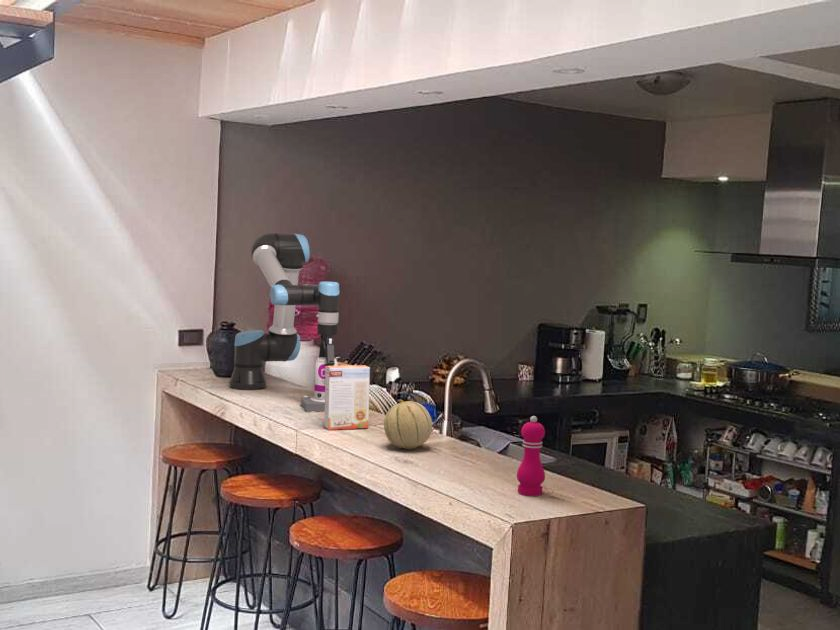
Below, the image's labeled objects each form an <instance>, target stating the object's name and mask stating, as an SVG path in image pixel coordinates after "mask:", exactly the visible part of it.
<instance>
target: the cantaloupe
mask: <svg viewBox="0 0 840 630" xmlns="http://www.w3.org/2000/svg"><path fill="white" fill-rule="evenodd" d="M397 402H398V403H396V404H394V405H393V406H391V407H390V408H389V409H388V410H387V412H386V414H385V416H384V420H383V421H384V422H383V430H384V433H385V436H386V438H387V440H388V441H389V442H390V443H391V444H392V445H393V446H395V447H396V448H400V449H403V448H405V449H404V450H414V449H416V448H418V447H419V446H422V445H424V444H425V443H426V442H427V441H428V440H429V439H430V438H431V437H430V436H431V435H432V432H433V420H432V416H431V415H430V413H429V411H428V410H427V408H426V407H425V406H424V405H422V404H421V403H418V402H416V401H412V400H407V401H404V400H403V399H401V398H400V399H398V400H397ZM413 448H414V449H413Z"/></svg>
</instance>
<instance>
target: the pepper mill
mask: <svg viewBox="0 0 840 630" xmlns="http://www.w3.org/2000/svg"><path fill="white" fill-rule="evenodd" d="M520 430H521V431H520V435H521V437H522V438H523V440H522V447H523V458H522V460H521V463H520V464H519V466H518V468H517V471H516V479H517V481H518V482H519V484H518V485H517V493H518V494H519V495H522V496H527V497H538V496H541V495H543V486H542V484H543V483H544V482H545V479H546V473H545V470H544V467H543V464H542V461H541V457H540V456H541V454H540V453H541V448H543V441H542V440H543V438H544V437H545V434H546V430H545V427H544V425H542V424H541V423H540V422H538V418H537V416H535V415H532V416H530V419H529V421H527V422H526V423H524V424H523V426H522V427H521V429H520Z"/></svg>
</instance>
